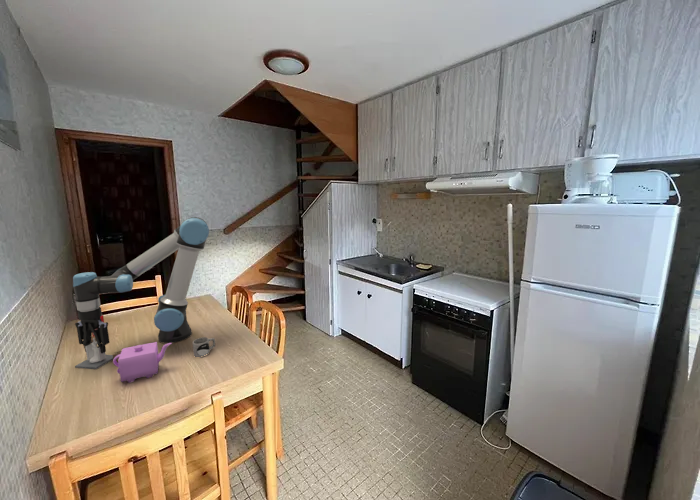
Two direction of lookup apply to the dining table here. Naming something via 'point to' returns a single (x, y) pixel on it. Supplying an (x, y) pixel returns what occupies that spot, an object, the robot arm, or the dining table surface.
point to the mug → (202, 346)
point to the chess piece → (95, 357)
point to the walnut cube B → (116, 355)
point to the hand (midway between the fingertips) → (96, 359)
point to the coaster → (94, 365)
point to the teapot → (139, 361)
